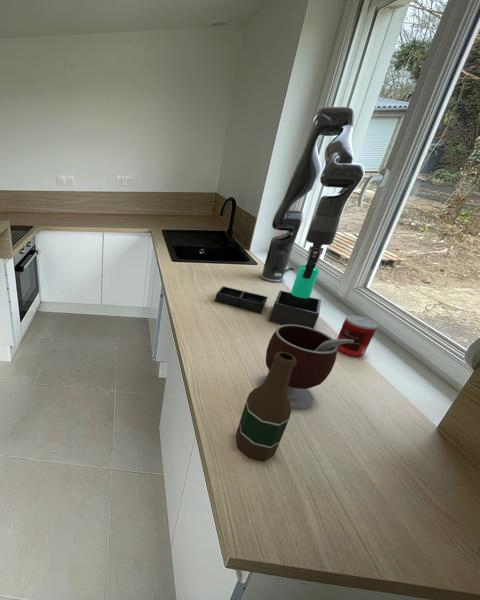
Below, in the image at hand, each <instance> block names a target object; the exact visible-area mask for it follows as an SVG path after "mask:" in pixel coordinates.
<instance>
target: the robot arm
mask: <svg viewBox="0 0 480 600" xmlns="http://www.w3.org/2000/svg"><path fill="white" fill-rule="evenodd" d="M354 113H355V112H354V110H353V108H352V107H349V106H323V107H321V108H320V109H319V110H318V111H317V113H316V114H315V115H314V118H313V121H312V123H311V127H310V129H309V133H308V135H307V138H306V141H305V144H304V147H303V150H302V151H301V155H300V157H299V159H298V162H297V164H296V166H295V168H294V170H293V173H292V174H291V177H290V180H289V183H288V186H287V188H286V191H285V193H284V195H283V198H282V200H281V202H280V204H279V206H278V208H277V210H276V211H275V214H274V217H273V218H272V223H271V226H272V229H273V230H275V231H276V230H277V231H283V232H284V231H285V233H283V234H280V235H277V236H273V237H271V239H270V243H269V246H268V250H267V255H266V258H265V261H264V265H263V268H262V272H261V275H260V278H261V279H263V280H264V281H268V282H272V283H280V282H283V279H284V276H285V273H286V272H288V271H289V270H292V271H294V268H293V267H292V266H291V267H288V263H289V261H290V257H291V254H292V250H293V247H294V244H295V242H296V239H297V237H298V233H299V231H300V229H301V226H302V223H303V219H304V213H303V212H302V211H301V210H295V209H291V208H292V206H293V205H294V204H296V202H298V201H299V200H300V199H302V198H304V196H306V195H307V194H308V193H310V192H311V191H312V190H313V189H314V188H315V186H316V184H317V182H318V180H319V181H320V184H321V185H322V186H323V187H326V188H339V189H340V188H341V189H340V190H339V191H338V192H336V193H333V194H326V195H323V196H321V197H320V199H319V201H318V204H317V207H316V210H315V213H314V216H313V217H312V220H311V222H310V225H309V227H308V231H307V235H306V237H305V241H306V242H307V243H310V244H312V245H310V246H309V248H308V251H307V253H308V254H307V256H306V260H305V261H306V264H305V265H304V266H305V267H306V269H305V272H304V275H303V278H306V279H310V277H311V275H312V272H313V269H314V268H317V263H319V261H320V258H321V256H322V255H323V252H324V247H322V246H330V245H332V244H333V243H334V240H335V238H336V236H337V235H336V234H337V232H338V229H339V227H340V223H341V218H342V217H343V216H342V215H343V213H344V210H345V208H346V205H347V202H348V201H349V199H350V198H351V196H352V195H353V193H354V191H355V190H356V189H357V187H358V186H359V185H360V184H361V182H362V181H363V179H364V177H365V173H366V169H365V167H364V165H363V164H361V163H353V161H354V152H353V146H352V138H353V129H354V119H355V114H354ZM320 137H334V138H333V139H331V141H329V142H328V144H327V145H326V147H325V150H324V162H325V163H324V164H325V166H324V167H323V170H322V162H321V159H320V156H319V152H318V141H319V139H320ZM287 267H288V268H287Z"/></svg>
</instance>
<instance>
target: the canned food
mask: <svg viewBox="0 0 480 600" xmlns="http://www.w3.org/2000/svg"><path fill="white" fill-rule="evenodd" d="M378 327H379V325H378V323H377V322H376V321H374V320H372V319H370V318H368V317H365V316H361V315H357V314H356V315H355V314H350V315H347V316H346V317H345V319H344V321H343V324H342V326H341V328H340V331H339V333H338V335H337V337H336V339H349V340H354V343H345V344H341V345H338V349H337V352H338V353H340V354H342V355H345V356H347V357H351V358H361V357H363V356H364V355H365V353H366V351H367V349H368V348H369V345H370V343H371V341H372V339H373V337H374V335H375V333H376V330H377V329H378Z"/></svg>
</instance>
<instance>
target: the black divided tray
mask: <svg viewBox="0 0 480 600" xmlns="http://www.w3.org/2000/svg"><path fill="white" fill-rule="evenodd" d="M267 301H268V296H265V295H262V294H258V293H253V292H248V291H246V290H241V289H236V288H232V287H229V286H224V285H223V286H221V287H220V288H219V290H218V291H217V292H216V295H215V299H214V302H215V303H218V304H223V305H227V306H230V307H234V308H237V309H240V310H246V311H249V312H252V313H256V314H260V315H261V314H262V313H263V311H264V308H265V307H266V304H267Z"/></svg>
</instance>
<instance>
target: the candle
mask: <svg viewBox="0 0 480 600" xmlns="http://www.w3.org/2000/svg"><path fill="white" fill-rule="evenodd" d="M305 266H306V265H304V264H301V265H299V267H298V270H297V272H296V276H295V278H294V282H293V284H292V287H291V291H290V293H291V294H292V295H294V296H296V297H299V298H309V297H311V296H312V293H313V290H314V287H315V284H316V281H317V279H318V276H319V272H320V270H321V269H320V268H317V267H315V268H314V269H313V272H312V275H311V277H310V279H306V278H303V275H304V272H305V269H306V267H305Z"/></svg>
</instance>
